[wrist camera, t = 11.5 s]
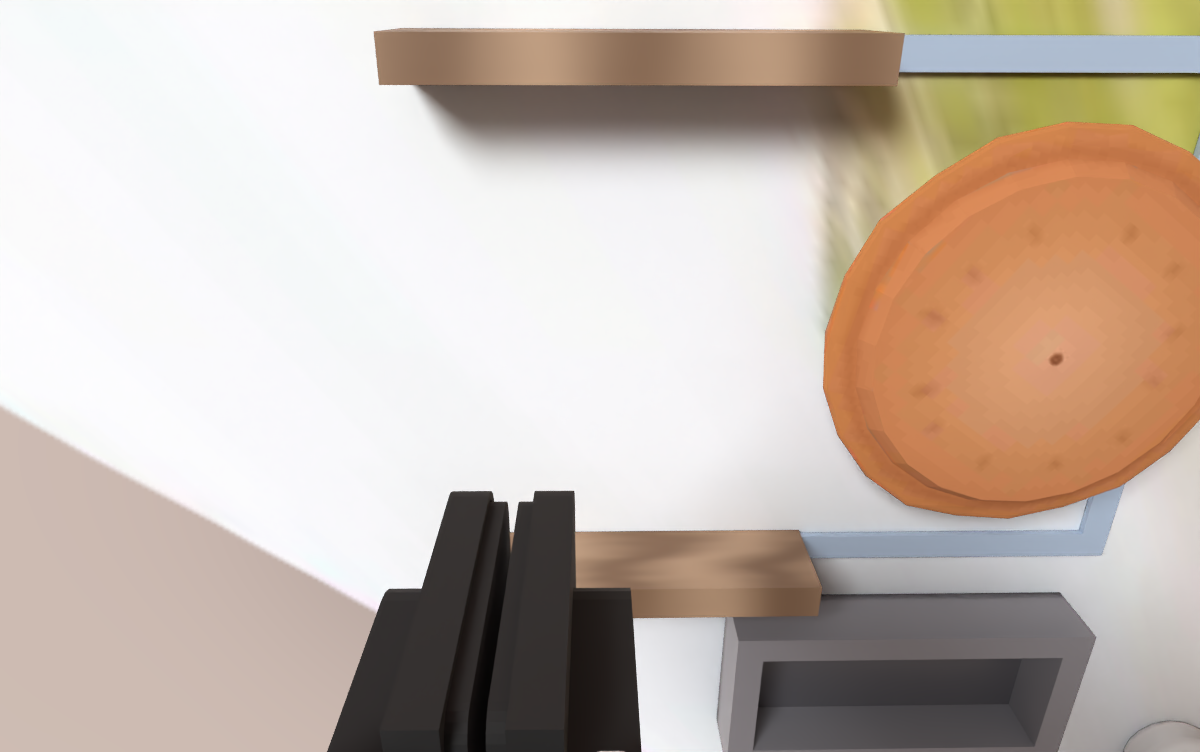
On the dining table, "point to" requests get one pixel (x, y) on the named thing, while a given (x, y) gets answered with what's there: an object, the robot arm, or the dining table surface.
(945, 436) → the pie
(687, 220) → the dining table surface
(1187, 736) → the rook chess piece
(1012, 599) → the grey tray
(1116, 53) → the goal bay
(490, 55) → the channel walls
